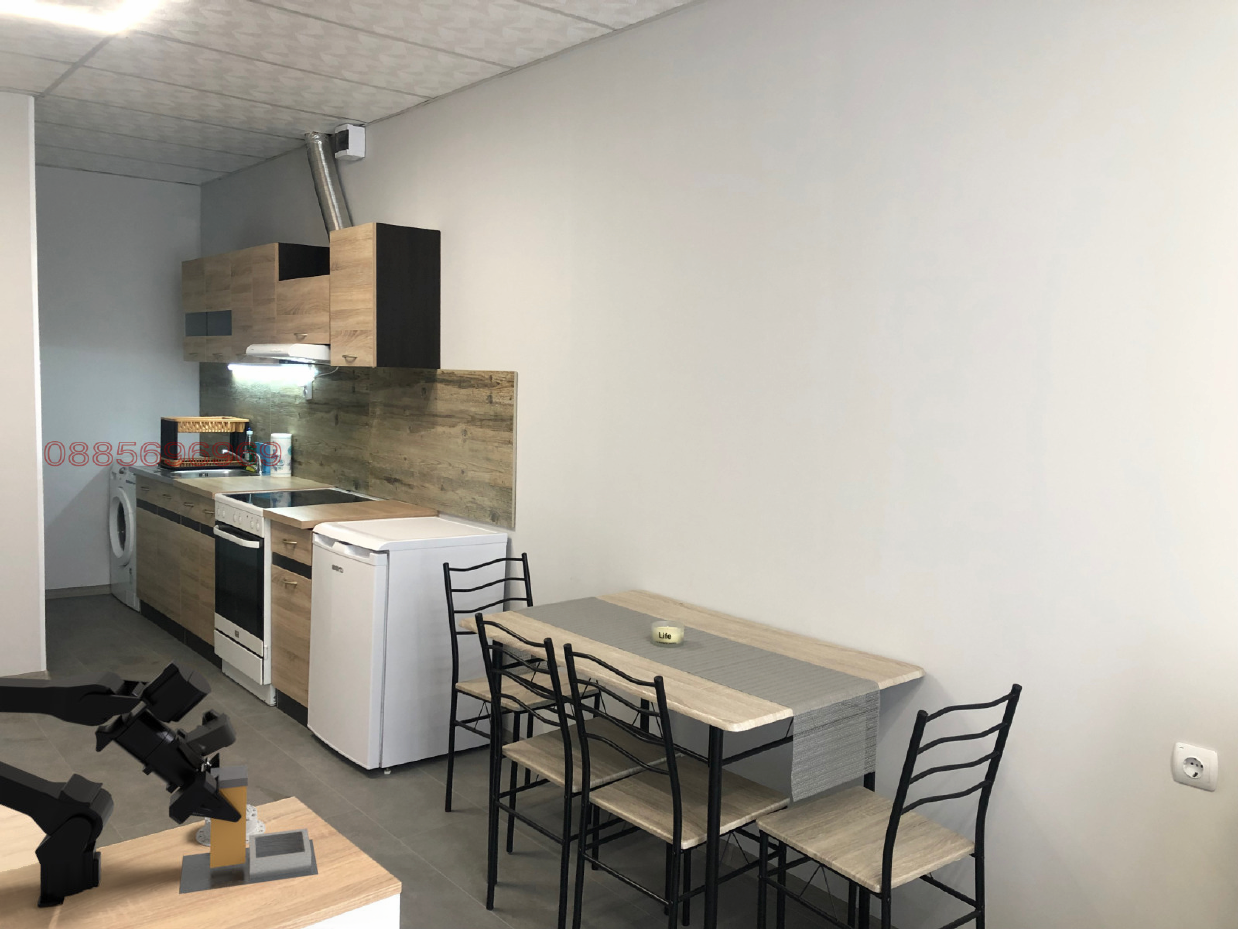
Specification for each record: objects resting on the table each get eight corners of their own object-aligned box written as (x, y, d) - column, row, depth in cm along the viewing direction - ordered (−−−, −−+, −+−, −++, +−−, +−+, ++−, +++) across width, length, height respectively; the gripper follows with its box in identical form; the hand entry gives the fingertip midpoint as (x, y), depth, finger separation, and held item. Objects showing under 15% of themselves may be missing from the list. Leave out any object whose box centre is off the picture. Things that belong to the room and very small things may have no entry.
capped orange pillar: (209, 868, 132) (210, 781, 131) (209, 852, 136) (210, 768, 136) (246, 863, 134) (247, 777, 133) (245, 848, 138) (246, 764, 137)
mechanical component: (183, 840, 145) (216, 862, 139) (183, 812, 145) (217, 833, 139) (243, 819, 153) (278, 839, 147) (244, 793, 153) (278, 812, 147)
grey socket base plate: (179, 900, 128) (179, 876, 128) (183, 862, 138) (183, 839, 138) (318, 880, 135) (318, 857, 135) (312, 845, 145) (312, 823, 145)
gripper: (197, 723, 123) (285, 795, 128) (202, 681, 141) (279, 746, 146) (129, 788, 121) (221, 859, 126) (142, 737, 138) (223, 801, 143)
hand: (239, 812), depth 135 cm, fingers closed on capped orange pillar, 5 cm apart
